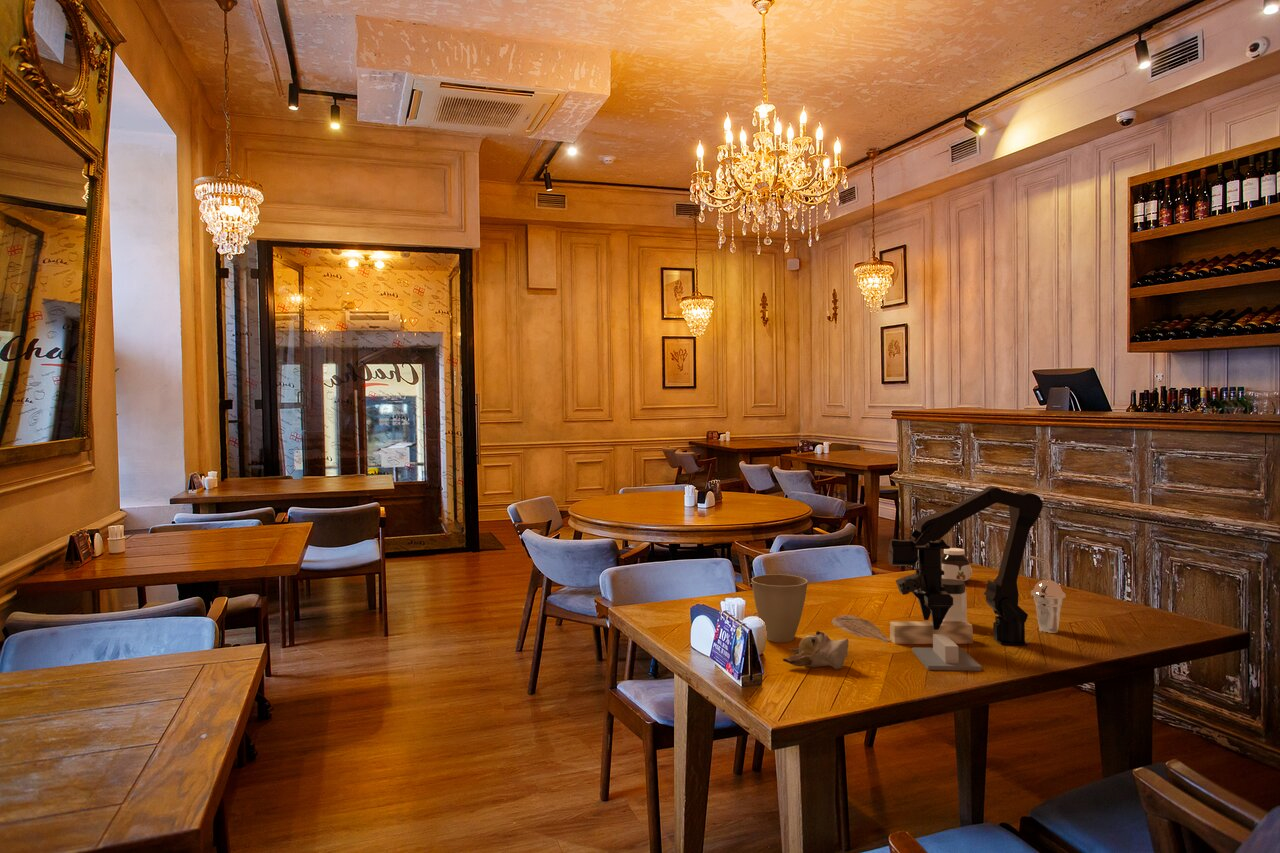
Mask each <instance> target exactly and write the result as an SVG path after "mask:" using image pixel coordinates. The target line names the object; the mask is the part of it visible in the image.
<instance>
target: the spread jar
mask: <svg viewBox="0 0 1280 853" xmlns="http://www.w3.org/2000/svg"><path fill="white" fill-rule="evenodd" d="M965 553H966V552H965V549H963V548H959V547H950V549H943V554H942V570H943V571H944V575H942V579H955V580H960V581H963V582H964V583H965V584H966V583H967V582H969V581H970V579H971V576H972V574H973V569H972V567H971V563H970V561H969V559H968V557H967V556H966V555H965Z"/></svg>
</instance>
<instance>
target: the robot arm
mask: <svg viewBox="0 0 1280 853" xmlns="http://www.w3.org/2000/svg"><path fill="white" fill-rule="evenodd" d="M996 503H998V504H1002V505H1005V506H1009V507H1008V509H1009V510H1008V513H1009V518H1010V519H1009V520H1010V527H1009V531H1008V533H1007V534H1008V535H1007V537H1006V538H1007V539H1006V542H1005V546H1004V549H1003V554H1002V559H1001V561H1000V562H1001V563H1000V567H999V571H998V574H997V575H996V577H995V579H994V580H993V581H992V580H990V579H988V580H987V584H986V589H985V591H984V593H983V595H985V602H986V603H987V605H988V606H989V608H992V611H993V613H994V614H995V615H996V616H995V617H994V619H995V621H994V622H993V623H992V624H993V626H992V629H993V633H992V634H993V636H992V639H993V640H995V641H996V642H998V643H999V644H1001V645H1002V646H1006V645H1007V646H1010V645H1011V646H1028V645H1029V644H1028V643H1029V642H1027V641H1026V635H1025V634H1026V629H1025V628H1026V627H1025V626H1026V622H1027V619H1028V616H1029V614H1028V613H1027V612H1026V611H1025V610H1023V609H1022V608H1021V606H1019V586H1018V578H1019V573H1020V571H1021V567H1022V563H1023V558H1024V554H1025V550H1026V546H1027V542H1028V537H1029V534H1030V530H1031V529H1032V527H1033V526H1034V525H1035V523H1036V521H1037V520H1038V519H1039V517H1040V515H1041V512H1042V510H1043V507H1044V502H1043V500H1042V499H1041V497H1040V496H1039V495H1038V494H1035V493H1032V492H1028V491H1022V490H1020V491H1016V492H1013V491H1012V492H1011V491H1009V490H1004V489H1001V488H1000V487H998V486H997V487H996V486H993V485H991V486H990V485H989V486H986V487H985V488H984V489H983V490H981V491H979V492H977V493H975V494H974V495H972V496H970V497H968V498H966V499H964V500H963V501H960V502H958V503H957V504H955V505H953V506H951V507H949V508H948V509H946V510H942V511H938V512H934V513H931V514H929V515H925V516H922V517H920V518H919V519H918V520H917V521H916V524H915V529H914V530H913V532H912V533H911V534H910V535H909V537H908V538H907V539H896V538H895V539H894V538H893V539H890V540H889V545H888V550H887V560H888V564H889V566H893V567H896V566H898V567H899V566H905V567H906V566H908V567H909V566H914V564H917V562H918V567H916V568H915V572H914V574H913V573H912V574H910V575H906V576H904V577H900V578H897V579H896V580H895V582H896V583H895V584H896V585H897V588H898V590H899V592H900V593H901V594H902V595H904V596H906V595H908V594H910V593H912V594H913V596H914V597H916V598H917V599H918V603H919V606H920V610H921V613H922V617H923V618H922V619H923V620H925V621H929V619H930V617H931V621H932V622H933V627H934V630H938V629H939V628H940V626H941V624H942V621H943V619H944V618H945V616H946V614H947V612H948V610H949V608H951V606H952V605H953V597H952V596H951V595H950V594H948V593H947V592H946V591H944V586H942V575H944V571H943V570H942V556H943V554H942V550H944V549H950V548H951V546H949V545H948V544H947V543H946V541H945V540H944V539H943V537H945V536H946V535H947V534H948V533H949V532H950V531H951V530H952V529H953V528H954V527H955V526H956V525H957V524H959V523H961V522H963V521H965V520H967V519H969V518H970V517H972V516H974V515H976V514H978V513H979V512H982V511H983V510H985V509H987V508H989V507H990V506H992V505H994V504H996Z"/></svg>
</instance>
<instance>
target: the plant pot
mask: <svg viewBox="0 0 1280 853" xmlns="http://www.w3.org/2000/svg"><path fill="white" fill-rule="evenodd" d="M750 579H751V584H752V585H751V587H752V593H753V599H754V604H755V607H756V608H755V609H756V612H757V616H758V619H759V618H761V619H762V620H763V621H764V622H765V625H766V631H767V639H766V640H768V642H769V641H770V642H774V643H789V642H792V641H794V639H795V637H796V633H797V630H798V628H799V626H800V622H801V618H802V614H803V611H804V606H805V602H806V598H807V597H806V596H807V591H808V590H807V589H808V583H809V582H808V579H806V578H804V577H801V576H797V575H792V574H779V573H777V574H775V573H771V574H770V573H769V574H761V575H756V576H753V577H752V578H750Z"/></svg>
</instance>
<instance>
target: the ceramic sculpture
mask: <svg viewBox="0 0 1280 853" xmlns="http://www.w3.org/2000/svg"><path fill="white" fill-rule="evenodd" d="M849 642H850V641H849V638H845V639H844V638H843V639H838V640H834V639H833V640H832V639H831V638H829V636H828V635H827V634H825V633H824V632H822V631H820V630H818V631H817V630H816V632H815V634H814V635H811V634H809V635H806V636H803V638H802V639H801V640H800V642H799V643H798V648H795V647H791V648H789V649H790V651H791V653H793V655H790V656H789V657H786V658H782V661H783V662H786V663H788V664H790V665H792V666H794V667H795V666H796V667H807V666H808V667H811V668H820V667H824V666H831V667H832V668H834V669H835V670H840V669H842V668H843V667H844V663H845V659H846V657H847V656H848V653H849Z"/></svg>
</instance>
